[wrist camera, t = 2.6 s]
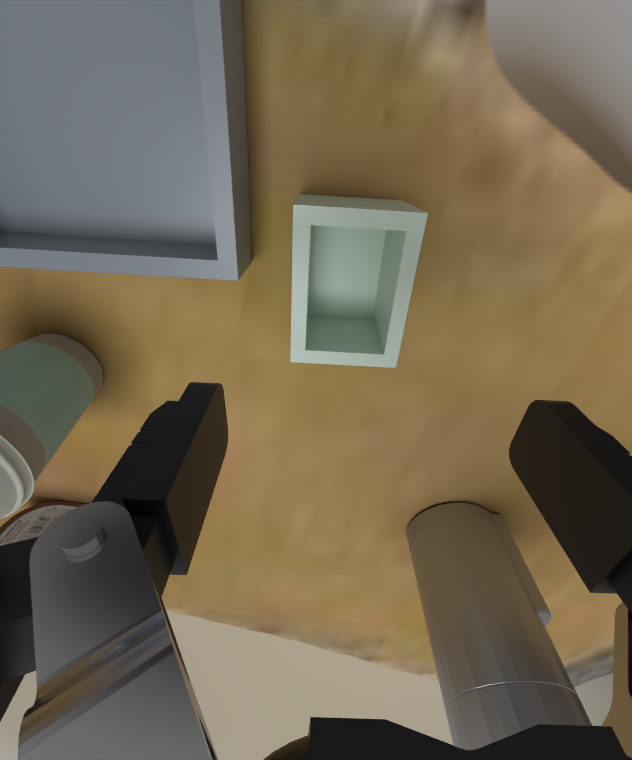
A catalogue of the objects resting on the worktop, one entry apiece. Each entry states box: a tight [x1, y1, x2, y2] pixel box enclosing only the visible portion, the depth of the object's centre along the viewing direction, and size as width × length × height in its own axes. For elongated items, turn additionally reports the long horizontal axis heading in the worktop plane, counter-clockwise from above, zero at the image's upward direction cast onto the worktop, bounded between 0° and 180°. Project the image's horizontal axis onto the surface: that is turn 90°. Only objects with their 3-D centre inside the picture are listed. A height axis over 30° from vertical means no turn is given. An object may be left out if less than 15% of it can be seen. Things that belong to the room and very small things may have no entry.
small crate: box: [291, 194, 428, 368], centre depth 20 cm, size 6×8×6 cm
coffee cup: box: [0, 333, 104, 519], centre depth 22 cm, size 8×8×12 cm
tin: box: [0, 501, 85, 546], centre depth 33 cm, size 15×3×8 cm, turn 77°
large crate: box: [0, 0, 252, 281], centre depth 16 cm, size 16×16×4 cm
